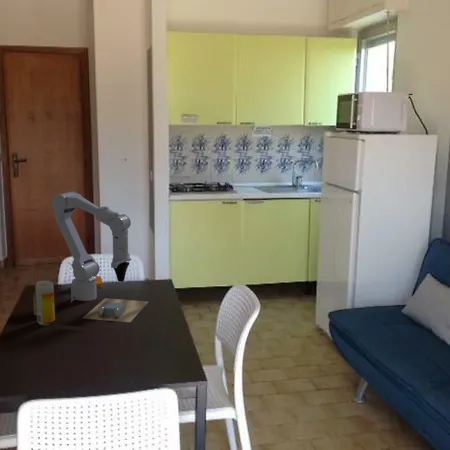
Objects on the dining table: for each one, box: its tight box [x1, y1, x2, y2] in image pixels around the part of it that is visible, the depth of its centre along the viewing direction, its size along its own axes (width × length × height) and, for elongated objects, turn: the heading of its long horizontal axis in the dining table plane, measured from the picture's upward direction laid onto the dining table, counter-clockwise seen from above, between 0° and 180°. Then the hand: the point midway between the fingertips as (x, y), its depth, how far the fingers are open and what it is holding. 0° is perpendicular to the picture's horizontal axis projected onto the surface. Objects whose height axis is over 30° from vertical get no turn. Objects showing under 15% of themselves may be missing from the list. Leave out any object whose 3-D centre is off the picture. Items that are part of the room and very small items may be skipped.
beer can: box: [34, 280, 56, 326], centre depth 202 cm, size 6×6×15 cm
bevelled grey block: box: [100, 302, 126, 317], centre depth 210 cm, size 8×6×3 cm
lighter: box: [32, 291, 37, 316], centre depth 211 cm, size 7×4×10 cm, turn 96°
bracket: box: [94, 258, 104, 289], centre depth 244 cm, size 11×7×12 cm, turn 17°
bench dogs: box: [98, 306, 120, 319], centre depth 206 cm, size 8×2×4 cm, turn 80°
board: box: [82, 297, 149, 323], centre depth 214 cm, size 18×22×1 cm
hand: (121, 281), depth 219 cm, fingers closed
